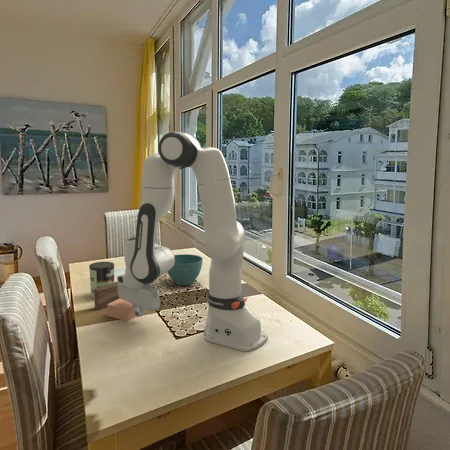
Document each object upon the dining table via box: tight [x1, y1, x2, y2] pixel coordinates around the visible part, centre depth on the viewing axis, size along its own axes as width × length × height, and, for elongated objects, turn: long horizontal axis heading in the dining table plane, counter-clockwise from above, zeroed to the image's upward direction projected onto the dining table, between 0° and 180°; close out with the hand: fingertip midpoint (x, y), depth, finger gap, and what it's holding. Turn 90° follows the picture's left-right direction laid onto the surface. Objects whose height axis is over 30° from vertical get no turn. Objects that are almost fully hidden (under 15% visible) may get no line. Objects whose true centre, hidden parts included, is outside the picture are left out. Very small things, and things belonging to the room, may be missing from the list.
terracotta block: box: [106, 299, 138, 322], centre depth 138 cm, size 10×8×5 cm
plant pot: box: [166, 253, 204, 287], centre depth 175 cm, size 18×18×12 cm
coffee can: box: [88, 261, 115, 299], centre depth 157 cm, size 10×10×14 cm
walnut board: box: [94, 282, 120, 311], centre depth 150 cm, size 3×20×8 cm, turn 142°
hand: (138, 315), depth 133 cm, fingers closed
